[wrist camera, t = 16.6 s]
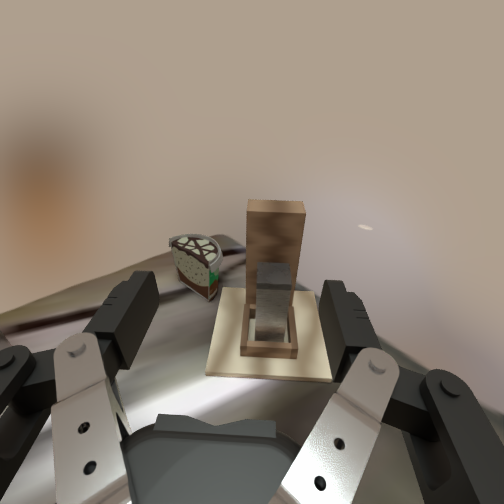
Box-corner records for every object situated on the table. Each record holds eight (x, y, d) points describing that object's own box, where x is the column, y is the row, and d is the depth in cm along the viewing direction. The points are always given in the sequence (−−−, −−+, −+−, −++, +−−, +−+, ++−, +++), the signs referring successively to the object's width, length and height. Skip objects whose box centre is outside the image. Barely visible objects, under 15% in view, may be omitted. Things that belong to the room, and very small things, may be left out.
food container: (236, 289, 54) (236, 248, 48) (214, 306, 50) (211, 263, 44) (197, 265, 60) (192, 226, 55) (174, 278, 56) (167, 237, 51)
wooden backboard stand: (205, 375, 38) (190, 257, 27) (222, 290, 53) (217, 191, 42) (330, 382, 38) (370, 265, 26) (312, 295, 53) (333, 195, 41)
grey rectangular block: (253, 346, 42) (256, 283, 34) (254, 323, 45) (257, 262, 38) (283, 347, 41) (292, 284, 34) (281, 324, 45) (289, 263, 38)
